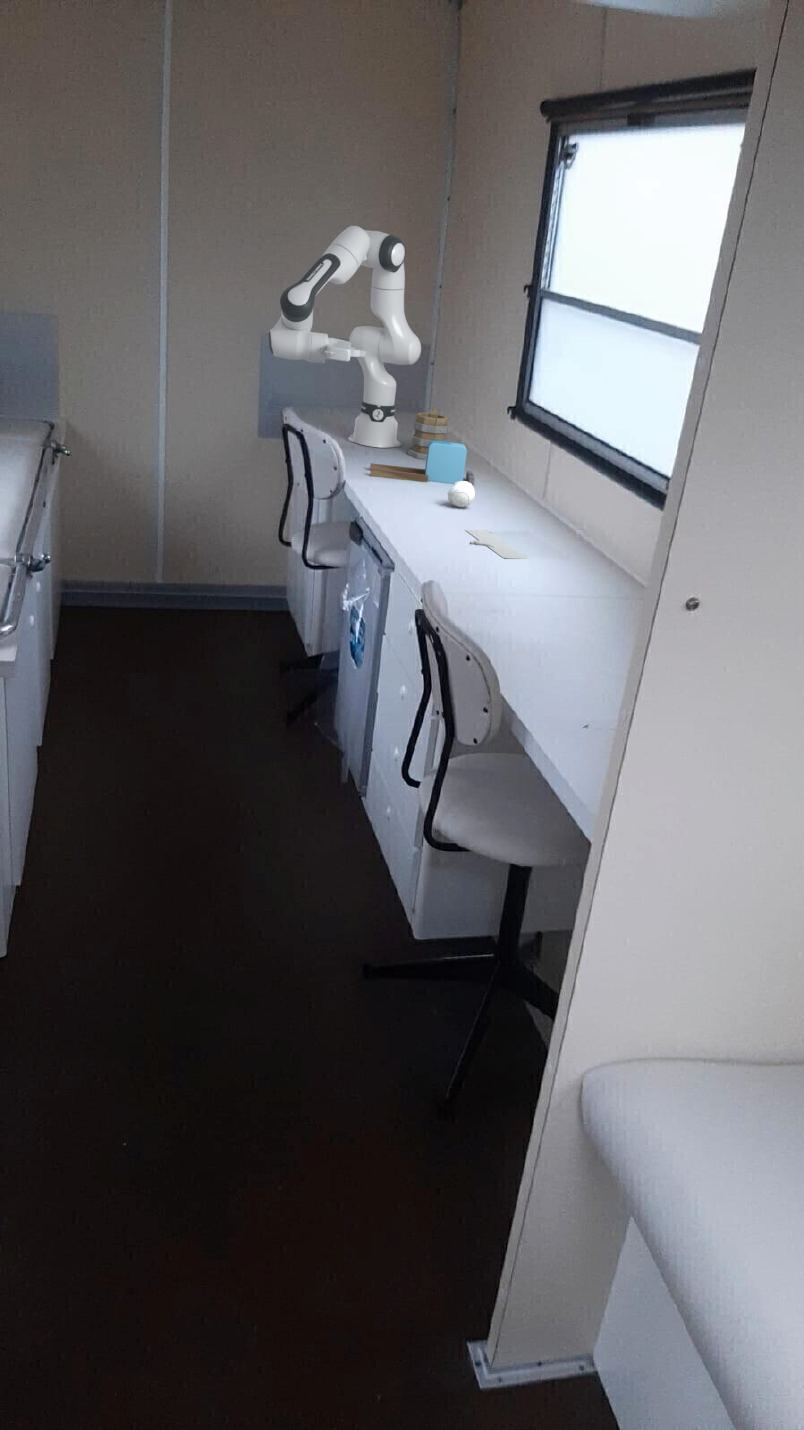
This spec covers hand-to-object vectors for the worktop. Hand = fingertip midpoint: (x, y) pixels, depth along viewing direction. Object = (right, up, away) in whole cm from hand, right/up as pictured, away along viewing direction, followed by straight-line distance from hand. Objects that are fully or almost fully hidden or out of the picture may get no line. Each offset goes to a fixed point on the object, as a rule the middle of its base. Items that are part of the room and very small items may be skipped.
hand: (365, 353), depth 349 cm
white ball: (+28, -51, -18) cm, 61 cm away
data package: (+24, -38, +10) cm, 46 cm away
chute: (+17, -37, +10) cm, 42 cm away
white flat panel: (+40, -67, -49) cm, 92 cm away
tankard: (+21, -21, +46) cm, 54 cm away
